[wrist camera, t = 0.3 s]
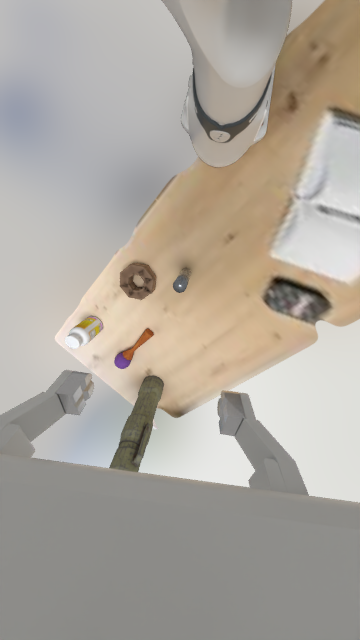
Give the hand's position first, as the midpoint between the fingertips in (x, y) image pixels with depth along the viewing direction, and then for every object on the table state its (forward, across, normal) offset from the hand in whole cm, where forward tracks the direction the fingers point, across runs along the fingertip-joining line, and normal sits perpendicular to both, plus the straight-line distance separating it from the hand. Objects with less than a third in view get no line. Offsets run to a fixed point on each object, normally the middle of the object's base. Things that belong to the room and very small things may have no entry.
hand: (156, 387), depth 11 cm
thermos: (+43, +8, +53) cm, 69 cm away
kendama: (+45, +16, +36) cm, 60 cm away
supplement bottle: (+46, +31, +29) cm, 63 cm away
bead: (+47, +14, +10) cm, 50 cm away
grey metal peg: (+46, 0, +6) cm, 47 cm away
